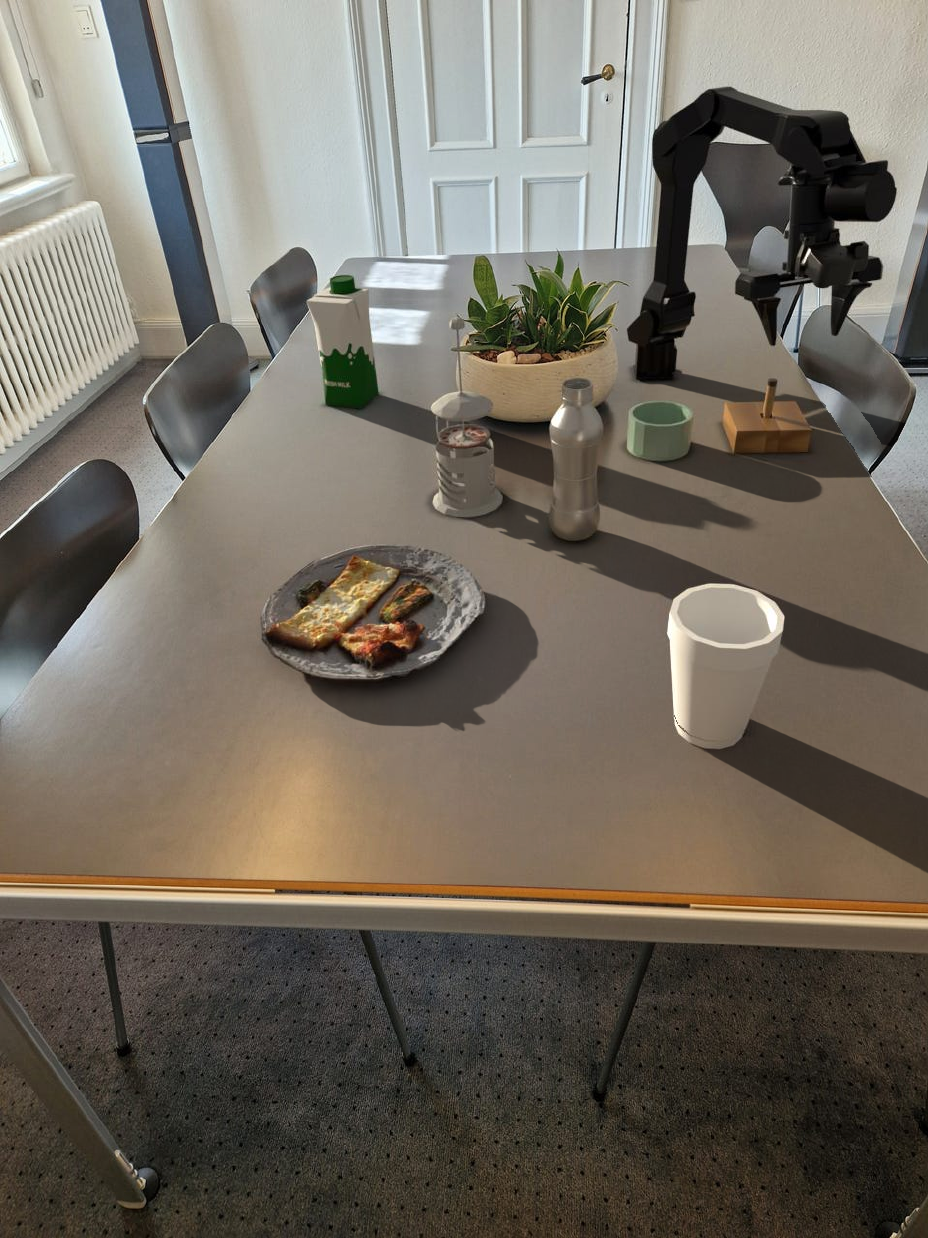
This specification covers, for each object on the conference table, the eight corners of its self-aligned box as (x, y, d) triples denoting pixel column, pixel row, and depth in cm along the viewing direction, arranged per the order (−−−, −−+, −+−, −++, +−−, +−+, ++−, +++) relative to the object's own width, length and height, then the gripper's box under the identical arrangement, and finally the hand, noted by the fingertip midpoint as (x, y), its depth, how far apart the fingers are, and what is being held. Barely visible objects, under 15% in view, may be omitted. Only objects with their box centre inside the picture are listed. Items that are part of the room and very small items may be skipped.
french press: (452, 524, 113) (438, 336, 98) (415, 489, 121) (397, 311, 106) (515, 504, 116) (511, 319, 101) (476, 472, 125) (466, 297, 110)
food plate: (391, 722, 83) (387, 695, 81) (220, 651, 93) (213, 626, 91) (516, 592, 99) (515, 567, 97) (359, 544, 110) (355, 521, 108)
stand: (733, 453, 125) (736, 430, 123) (722, 423, 133) (725, 402, 131) (807, 452, 124) (812, 429, 122) (791, 422, 132) (795, 400, 130)
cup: (629, 461, 125) (631, 426, 121) (624, 434, 132) (627, 401, 129) (693, 460, 124) (697, 425, 120) (685, 433, 131) (688, 399, 128)
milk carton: (385, 392, 152) (372, 275, 140) (362, 411, 145) (345, 291, 133) (342, 387, 155) (325, 272, 143) (317, 406, 148) (297, 288, 136)
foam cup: (647, 696, 84) (658, 588, 76) (739, 687, 84) (759, 578, 76) (674, 766, 76) (689, 654, 68) (776, 756, 77) (802, 643, 69)
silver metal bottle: (606, 525, 111) (613, 375, 99) (589, 551, 106) (595, 397, 94) (559, 517, 113) (561, 370, 101) (541, 542, 108) (540, 391, 96)
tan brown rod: (759, 439, 128) (769, 381, 123) (758, 435, 129) (767, 378, 124) (768, 439, 128) (778, 381, 123) (766, 435, 129) (776, 377, 124)
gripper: (771, 236, 106) (765, 362, 114) (914, 214, 107) (898, 341, 115) (735, 229, 116) (731, 346, 124) (866, 209, 117) (854, 326, 125)
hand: (803, 340), depth 121 cm, fingers open, 9 cm apart
